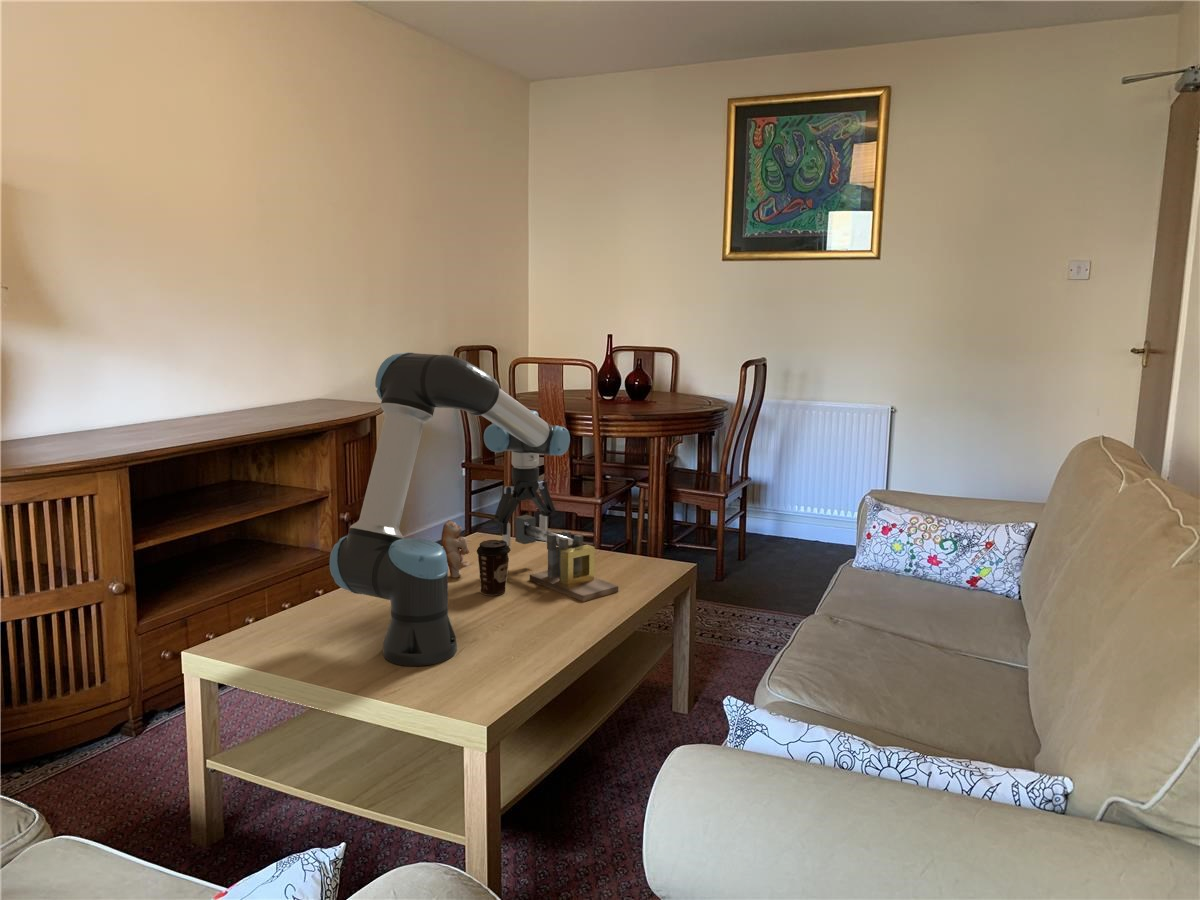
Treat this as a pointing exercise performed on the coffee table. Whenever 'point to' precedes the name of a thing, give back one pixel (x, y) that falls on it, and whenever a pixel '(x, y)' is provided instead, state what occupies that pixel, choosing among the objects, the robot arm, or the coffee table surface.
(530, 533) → the shaft
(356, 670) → the coffee table surface
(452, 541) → the figurine
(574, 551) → the block
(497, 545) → the coffee cup
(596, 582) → the bearing block
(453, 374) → the robot arm
